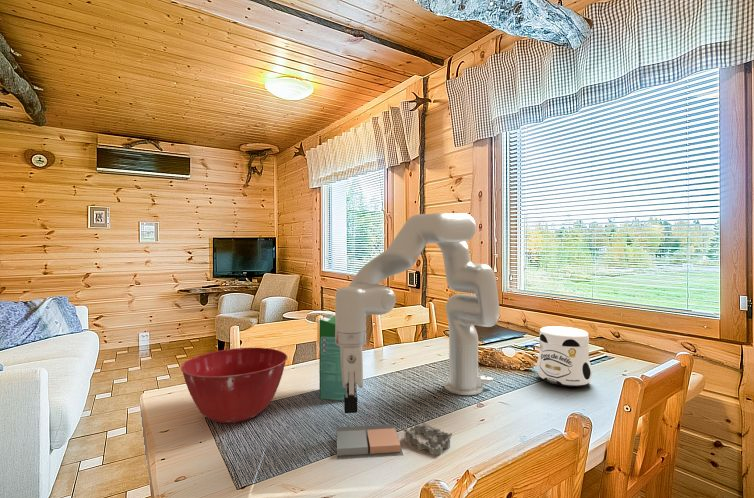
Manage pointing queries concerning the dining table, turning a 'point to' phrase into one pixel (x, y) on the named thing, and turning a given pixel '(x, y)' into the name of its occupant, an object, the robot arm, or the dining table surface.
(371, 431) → the terracotta tile
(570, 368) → the milk container
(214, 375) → the mixing bowl
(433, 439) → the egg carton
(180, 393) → the dining table surface
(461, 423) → the dining table surface
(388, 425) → the rubber mat
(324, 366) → the milk carton
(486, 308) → the robot arm
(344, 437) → the grey flat block
